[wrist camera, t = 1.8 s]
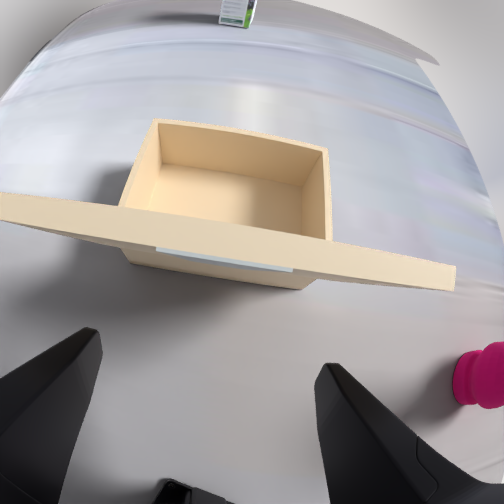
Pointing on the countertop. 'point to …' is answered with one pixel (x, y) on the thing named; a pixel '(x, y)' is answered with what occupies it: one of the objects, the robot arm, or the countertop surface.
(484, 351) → the pepper mill
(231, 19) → the syrup box
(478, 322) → the countertop surface
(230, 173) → the carton
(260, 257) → the lid
